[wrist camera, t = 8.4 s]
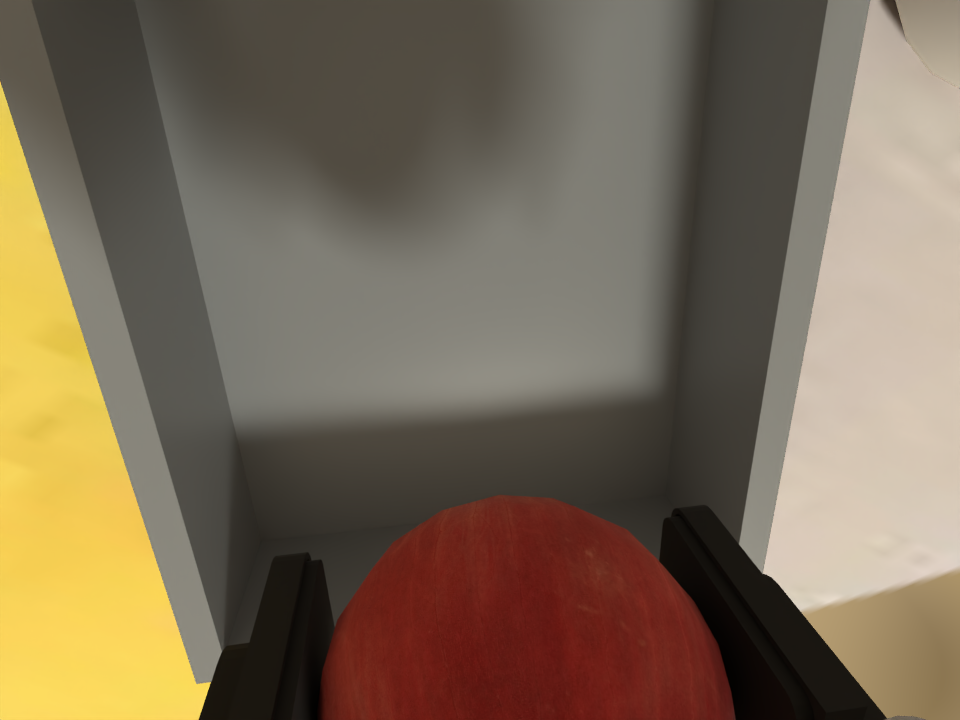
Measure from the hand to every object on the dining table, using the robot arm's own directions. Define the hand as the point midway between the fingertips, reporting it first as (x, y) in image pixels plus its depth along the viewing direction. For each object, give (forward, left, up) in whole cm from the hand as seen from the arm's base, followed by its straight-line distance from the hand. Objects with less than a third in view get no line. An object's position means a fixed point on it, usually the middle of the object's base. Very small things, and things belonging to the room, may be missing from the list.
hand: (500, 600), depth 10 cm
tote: (0, -5, -8) cm, 10 cm away
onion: (0, 0, -2) cm, 2 cm away
